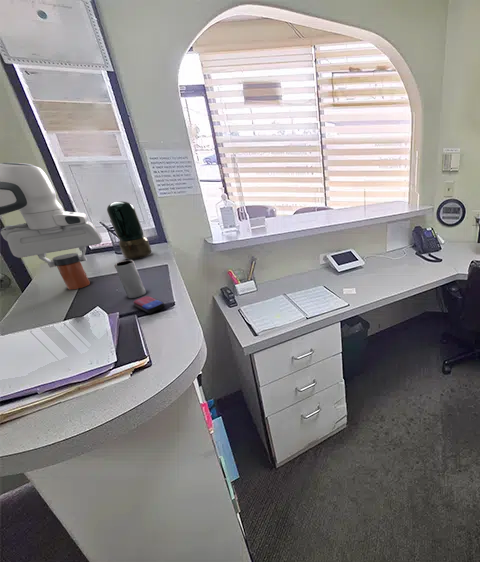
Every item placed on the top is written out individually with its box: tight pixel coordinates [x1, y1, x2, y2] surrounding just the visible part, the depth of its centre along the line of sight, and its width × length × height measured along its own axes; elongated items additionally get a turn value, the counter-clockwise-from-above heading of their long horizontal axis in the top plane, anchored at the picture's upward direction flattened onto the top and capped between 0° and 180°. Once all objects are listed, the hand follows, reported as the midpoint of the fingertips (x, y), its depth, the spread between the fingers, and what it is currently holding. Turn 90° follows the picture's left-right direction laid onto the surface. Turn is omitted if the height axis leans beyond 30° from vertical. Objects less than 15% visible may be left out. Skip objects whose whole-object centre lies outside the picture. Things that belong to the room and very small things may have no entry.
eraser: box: [133, 295, 165, 315], centre depth 84 cm, size 11×4×2 cm, turn 56°
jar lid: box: [51, 252, 80, 265], centre depth 97 cm, size 6×6×2 cm
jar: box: [56, 260, 91, 291], centre depth 99 cm, size 6×6×10 cm
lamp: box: [106, 200, 153, 260], centre depth 121 cm, size 10×10×22 cm
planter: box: [114, 259, 147, 299], centre depth 90 cm, size 4×4×10 cm
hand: (69, 263), depth 97 cm, fingers closed on jar lid, 6 cm apart
